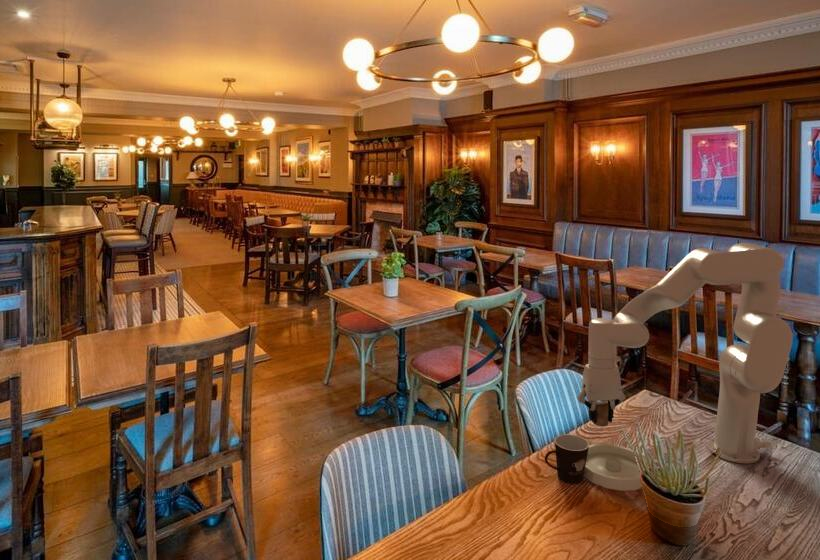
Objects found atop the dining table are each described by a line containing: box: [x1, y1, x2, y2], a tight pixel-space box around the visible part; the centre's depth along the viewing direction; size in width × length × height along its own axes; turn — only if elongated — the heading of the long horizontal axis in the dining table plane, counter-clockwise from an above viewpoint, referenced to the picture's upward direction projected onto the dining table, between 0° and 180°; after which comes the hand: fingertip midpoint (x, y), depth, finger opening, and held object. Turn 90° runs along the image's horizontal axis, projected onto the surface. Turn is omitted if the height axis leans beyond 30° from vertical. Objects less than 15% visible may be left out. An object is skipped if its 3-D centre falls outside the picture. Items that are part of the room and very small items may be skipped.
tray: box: [583, 443, 642, 492], centre depth 136 cm, size 18×18×3 cm
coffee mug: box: [544, 433, 590, 485], centre depth 133 cm, size 12×9×10 cm
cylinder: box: [594, 400, 609, 427], centre depth 148 cm, size 4×4×6 cm
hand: (600, 420), depth 148 cm, fingers closed on cylinder, 4 cm apart
